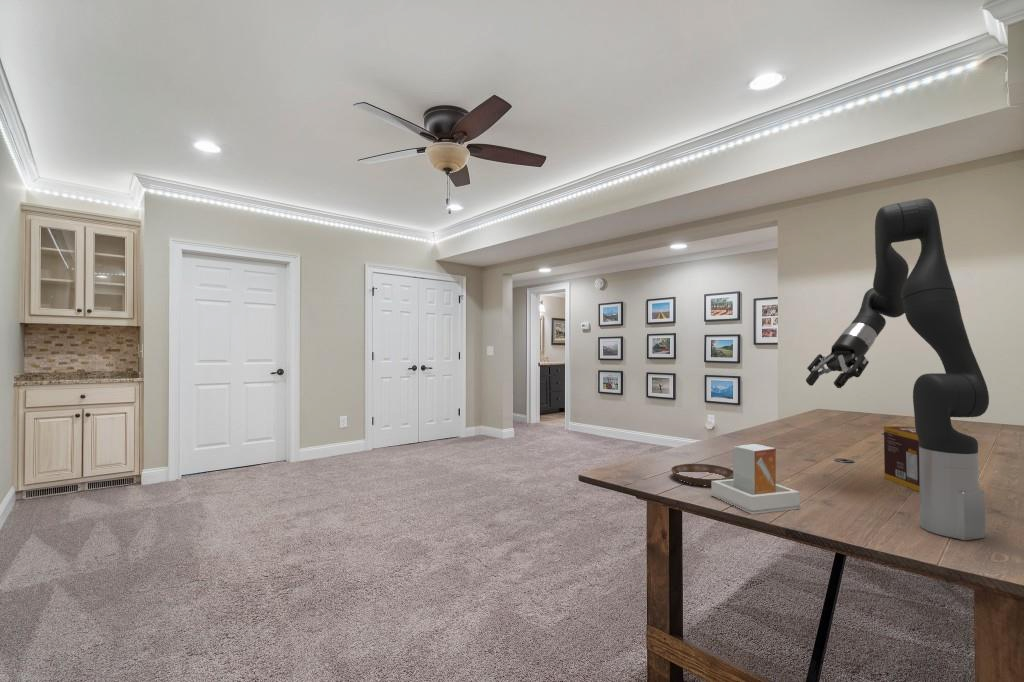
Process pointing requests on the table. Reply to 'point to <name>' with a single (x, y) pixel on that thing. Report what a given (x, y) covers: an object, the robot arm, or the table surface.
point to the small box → (754, 469)
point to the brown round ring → (701, 468)
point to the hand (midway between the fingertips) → (822, 384)
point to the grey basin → (756, 498)
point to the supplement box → (902, 455)
